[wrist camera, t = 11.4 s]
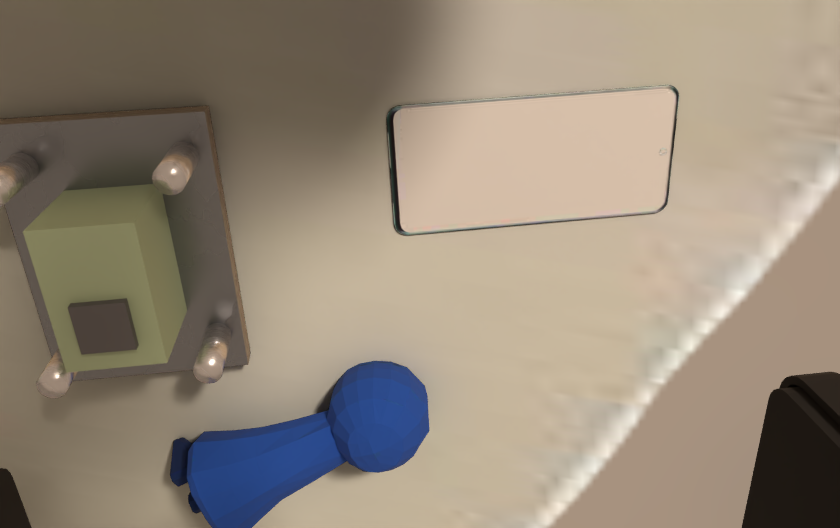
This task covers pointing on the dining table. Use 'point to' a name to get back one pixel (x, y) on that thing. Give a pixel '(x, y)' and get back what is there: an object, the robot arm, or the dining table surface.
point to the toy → (304, 446)
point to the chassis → (185, 206)
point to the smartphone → (531, 158)
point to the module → (108, 276)
